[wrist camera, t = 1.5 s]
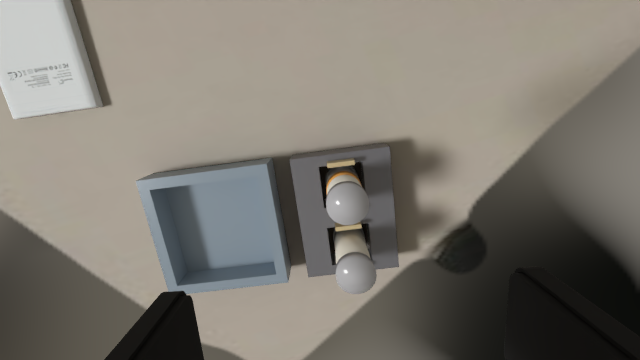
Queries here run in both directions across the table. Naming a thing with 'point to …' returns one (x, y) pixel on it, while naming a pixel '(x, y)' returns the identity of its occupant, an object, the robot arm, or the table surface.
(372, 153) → the fuse holder
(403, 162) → the table surface
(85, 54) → the external hard drive
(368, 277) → the fuse
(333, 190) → the marked fuse
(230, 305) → the table surface
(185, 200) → the tray
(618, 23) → the table surface
